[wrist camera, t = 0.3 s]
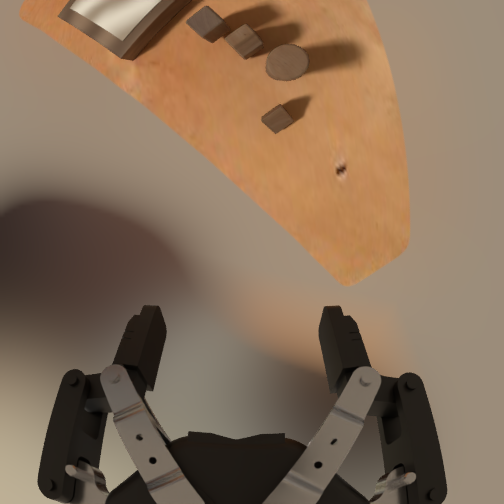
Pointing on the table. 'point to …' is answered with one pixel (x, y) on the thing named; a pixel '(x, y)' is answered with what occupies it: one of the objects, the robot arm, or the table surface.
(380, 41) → the table surface
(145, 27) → the picture frame
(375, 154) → the table surface
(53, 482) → the robot arm
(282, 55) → the wooden block set
